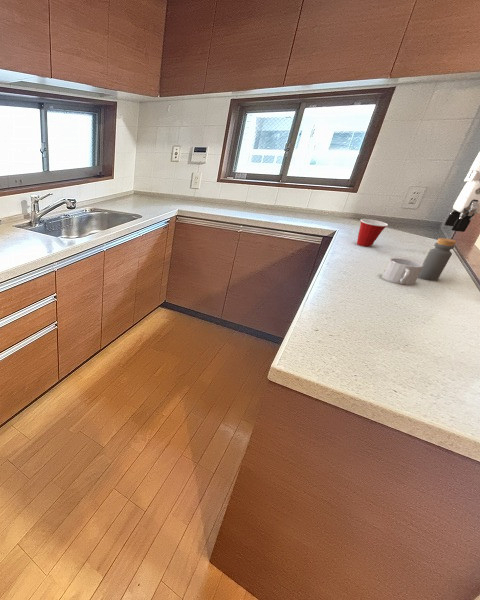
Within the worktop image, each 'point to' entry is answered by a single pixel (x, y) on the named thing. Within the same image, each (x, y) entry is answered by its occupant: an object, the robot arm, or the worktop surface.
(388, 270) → the mug
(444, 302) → the worktop surface
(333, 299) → the worktop surface
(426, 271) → the bottle
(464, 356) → the worktop surface
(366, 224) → the plastic cup
